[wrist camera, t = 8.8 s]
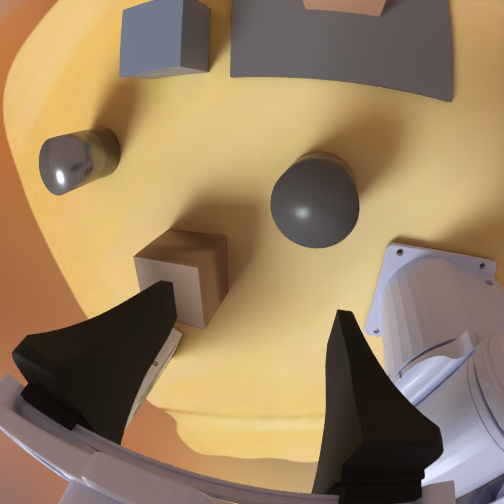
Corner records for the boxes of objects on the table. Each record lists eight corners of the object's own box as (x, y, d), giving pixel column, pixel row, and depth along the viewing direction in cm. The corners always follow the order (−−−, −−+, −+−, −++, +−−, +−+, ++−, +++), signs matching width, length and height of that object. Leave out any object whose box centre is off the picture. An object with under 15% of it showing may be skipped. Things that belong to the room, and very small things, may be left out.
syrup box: (138, 302, 29) (46, 402, 16) (186, 333, 29) (107, 449, 16) (130, 333, 32) (55, 422, 19) (172, 361, 31) (106, 461, 19)
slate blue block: (211, 9, 15) (183, -8, 11) (209, 72, 17) (180, 66, 14) (156, 20, 16) (123, 10, 13) (154, 79, 18) (119, 77, 15)
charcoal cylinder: (359, 156, 17) (364, 168, 13) (351, 223, 19) (352, 253, 15) (287, 148, 18) (271, 158, 14) (284, 215, 20) (269, 242, 16)
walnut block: (226, 235, 22) (198, 267, 18) (228, 291, 25) (204, 329, 20) (169, 229, 24) (133, 256, 19) (175, 281, 26) (146, 314, 22)
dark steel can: (118, 124, 21) (68, 134, 16) (122, 176, 23) (75, 196, 18) (83, 129, 22) (36, 141, 17) (88, 176, 24) (43, 194, 19)
